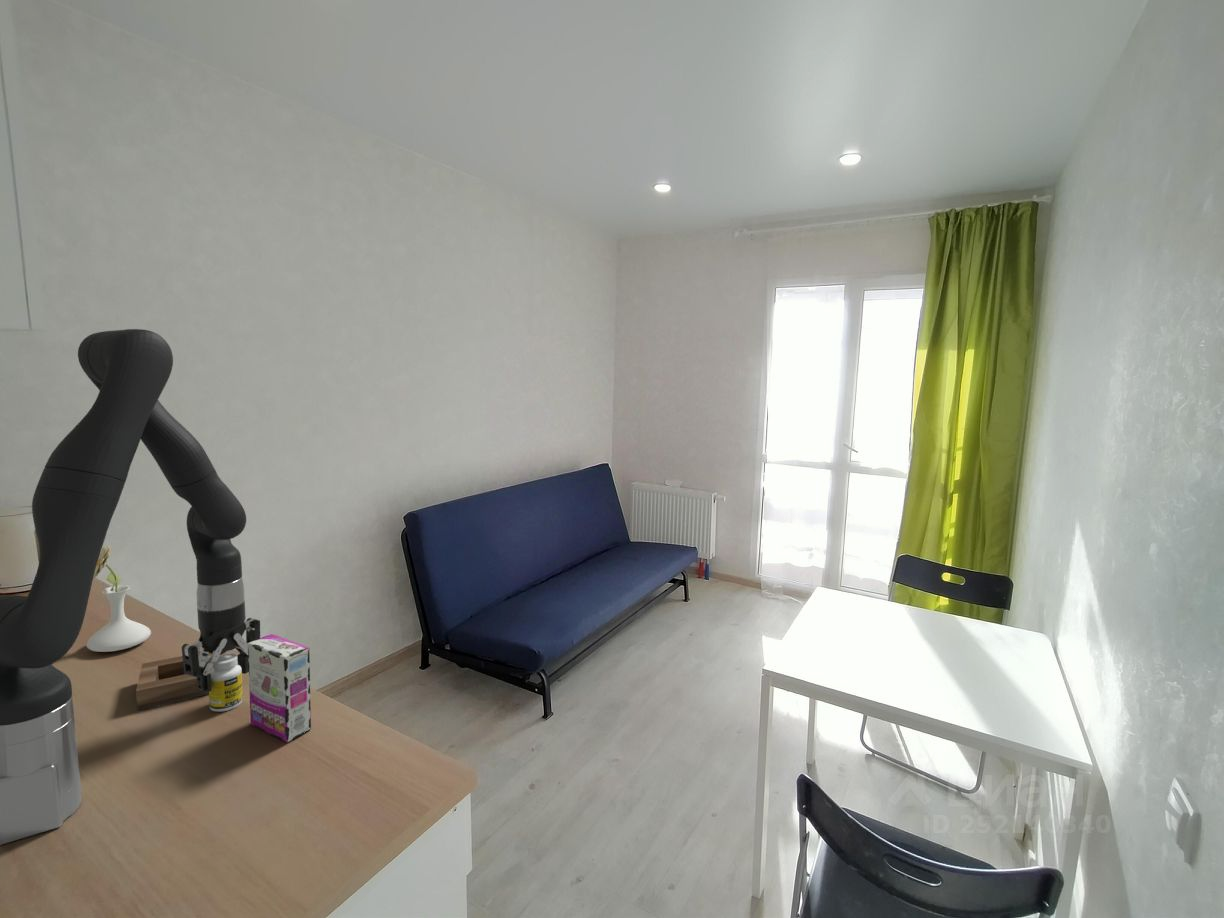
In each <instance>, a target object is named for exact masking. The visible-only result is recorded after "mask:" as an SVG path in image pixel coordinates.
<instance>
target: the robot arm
mask: <svg viewBox="0 0 1224 918" xmlns="http://www.w3.org/2000/svg"><path fill="white" fill-rule="evenodd" d="M77 348H78V349H77V358H78V364H79V366H80V367H81V369H82V371H83V372H84V373H85V375H86V376H87V377H88V378H89V380H90V381H91V382H92V384H93V385H94V386H95V387H96V388H97V389H98V390H99V392H98V395H97V397H96V399H95V401H94V402H93V405H92V406H91V408H90V409H89V410H88V412H87V413H86V414H85V416H83V418H82V419H81V420H80V421H79V422H78V423H77V424H76V425H75V427H73V428H72V429H71V430H70V431H69V432H68V433H67V435H66V436H65V437H64V438H62V440H61V441H60V442H59V443H58V445H57V446H56V447H55V448H54V450H53V451H52V452H51V454H50V456H49V457H48V459H47V461H46V463H45V465H44V468H43V470H42V472H41V475H40V477H39V479H38V482H37V484H36V487H35V491H34V493H33V496H32V502H31V503H32V504H31V512H32V519H33V524H34V530H35V534H36V538H37V541H38V542H37V543H38V549H39V557H38V558H39V559H38V560H39V561H38V566H37V570H36V573H35V577H34V579H33V582H32V584H31V586H30V587H31V588H30V590H29V592H28V594H27V595H18V594H9V595H8V594H5V595H0V846H1V845H5V844H9V843H12V842H15V841H18V840H21V839H25V838H27V837H31V836H35V835H38V834H42V833H44V832H47V831H51V830H55V829H57V828H60V827H61V826H62V825H63V822H64V821H65V820H66V819H68V818H69V817H70V816H72V815H73V814H74V813H75V812H76V811H77V810H78V808H79V807H80V806H81V804H82V800H83V799H82V788H81V787H82V785H81V776H80V765H79V756H78V755H79V753H78V744H77V743H78V742H77V736H76V735H77V733H76V722H75V721H76V720H75V711H74V710H75V708H74V698H73V688H72V681H71V678H70V677H69V676H68V675H67V674H66V673H65V672H63V671H61V670H59V669H58V668H57V667H55V666H54V665H53V664H54V663H56V662H58V661H60V660H61V659H62V658H63V657H64V656H65V655H66V654H67V653H68V652H69V651H70V650H71V648H72V647H73V646H74V644H75V642H76V641H77V639H78V638H79V635H80V633H81V629H82V626H83V624H84V619H85V616H86V612H87V607H88V602H89V598H90V595H91V590H92V584H93V581H94V579H93V577H94V572H95V568H96V565H97V562H98V558H99V555H100V553H101V551H102V548H103V547H104V546H103V545H104V542H105V539H106V536H107V532H108V529H109V528H110V524H111V520H112V518H113V516H114V514H115V511H116V509H117V507H118V504H119V501H120V498H121V496H122V492H123V491H124V488H125V484H126V483H127V482H126V481H127V478H128V476H129V472H130V470H131V469H130V468H131V466H132V462H133V460H134V458H135V454H136V452H137V450H138V448H139V444H140V441H141V442H142V444H144V446H145V447H146V448H147V450H148V451H149V453H150V455H151V456H152V457H153V459H154V461H155V462H156V464H157V465H158V467H159V469H160V470H161V473H162V474H163V475H164V477H165V479H166V480H167V482H168V484H169V485H170V487H171V489H172V490H173V491H174V493H175V494H176V495H177V496H179V497H180V498H182V500H185V501H186V502H188V504H189V505H190V506H191V507H189V509H188V512H187V516H186V529H187V534H188V537H189V541H190V544H191V548H192V551H193V553H194V556H195V559H196V578H197V579H196V580H197V583H196V584H197V586H196V587H197V588H196V607H197V611H196V612H197V627H198V629H199V632H200V635H199V637H198V640H197V641H195V642H193V643H184V644H183V645H182V646H181V653H182V654H181V656H182V657H183V666H184V673H185V674H187V675H191V676H194V677H197V688H198V690H201V691H202V692H205V693H208V692H210V691H211V673H209V672H210V670H211V668H212V666H213V664H214V663H216V662H217V660H218V657H219V656H220V655H224V654H226V652H229V651H232V650H233V651H234V650H236V652H238V653H239V654H236V655H237V664H238V665H239V666H240V667H241V669H242V674H244V675H245V674H249V661H248V643H250V642H252V641H255V640H257V639H260V638H261V621H260V620H259V619H256V618H253V617H249V618H247V619H246V602H245V601H246V599H245V596H246V595H245V585H244V579H243V571H242V570H243V569H242V568H243V567H242V556H241V552H240V550H239V549H238V548H237V547H235V545H234V544H233V543H232V539H235V538H236V537H238V536H239V535H240V534H241V533H242V532H243V531H244V530H245V527H246V525H247V515H246V511H245V508H244V507H243V505H242V504H241V502H240V500H239V499H238V498H237V497H236V496H235V494H234V493H233V491H231V489H230V488H229V487H228V486H227V485H226V484H225V482H224V481H223V480H222V479H221V477H220V476H219V474H218V473H217V471H216V469H215V466H214V465H213V463H212V462H211V459H210V458H209V456H208V454H207V452H206V451H205V448H204V447H203V446H202V445H201V443H200V442H199V441H198V440H197V439H196V437H195V436H194V435H193V434H192V433H191V432H190V431H189V430H188V429H187V428H186V427H184V426H183V424H181V422H179V421H178V420H177V419H176V418H175V417H173V415H172V414H170V413H169V411H168V410H167V409H166V408H165V406H164V405H163V404H162V403H161V401H160V400H159V398H160V397H161V395H162V392H163V391H164V389H165V387H166V386H167V385H166V384H167V383H168V381H169V378H170V377H171V374H172V369H173V366H174V356H173V351H172V349H171V346H170V344H169V342H168V341H166V339H165V338H164V337H163V336H161V335H160V334H159V333H156V332H154V331H152V330H149V329H148V330H147V329H139V328H128V329H127V328H125V329H115V330H106V331H98V332H95V333H91V334H89V335H88V336H86V337H85V338H83V340H82V341H81V342H80V344H79V346H78V347H77ZM244 633H245V639H246V640H245V639H244V638H243V635H244ZM201 648H202V649H201ZM200 652H201V653H200ZM208 653H210V654H212V655H211V657H209V656H208ZM198 654H200V655H199V657H198ZM205 663H206V664H205ZM204 665H205V666H204Z"/></svg>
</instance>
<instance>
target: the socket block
mask: <svg viewBox="0 0 1224 918" xmlns="http://www.w3.org/2000/svg"><path fill="white" fill-rule="evenodd" d="M200 653H201V651H200ZM199 655H200V654H198V657H199ZM211 655H212V654H210V653H208V656H209V657H211ZM205 664H206V663H205ZM204 666H205V665H204ZM212 669H213V667H212V668H211V670H212ZM211 670H210V671H211ZM135 695H136V696H135V697H136V707H137V711H141V710H145V709H146V710H147V709H150V708H156V707H160V706H163V705H168V704H171V703H176V702H180V701H185V700H189V699H193V698H198V697H203V696H208V695H209V692H208V693H205V692H202V691H201V690H198V688H197V677H194V676H191V675H187V674H185V673H184V666H183V657H182V655H178V656H175V657H170V658H165V659H158V660H155V661H154V660H153V661H149V662H145V663H144V662H143V663H142V665H141V667H140V672H139V676H138V680H137V685H136V689H135Z"/></svg>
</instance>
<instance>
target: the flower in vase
mask: <svg viewBox="0 0 1224 918" xmlns="http://www.w3.org/2000/svg"><path fill="white" fill-rule="evenodd" d="M110 555H111V547H110V545H108V546H107V547H106V545H104V546H102V549H101V552H100V555H99V558H98V562H97V565H96V568H95V572H94V577H93V580H95V578H96V577H98V576H99V574H100V573H101V572H102V570H103V569H104V568H105V567H107V569H108V570H109V571H110V573H108V575H107V577H106V581H107V582H109V584H112V585H111V586H109V587H105V588H103V589H102V590H101V591H100V592H101V594H103V595H104V596H105V597H106V598H107V600H108V603H109V605H110V620H109V621H108V622H107V623H106V624H105V625H104V626H103V627H101V628H100V629H98V631H96V632H95V633H93V635H91V637H90V638H89V639H88V640H87V642H86V648H87V649H88V650H90V651H92V652H99V653H101V652H102V653H108V652H117V651H121V650H122V651H123V650H126V649H130V648H133V647H134V646H137V645H139V644H142V643H144V642H145V641H147V639H149V638H150V636H151V634H152V631H151V629H150V628H149V627H148V626H146V625H144V624H143V623H140V622H137V621H135V620H131V619H129V618H127V617H126V614H125V605H124V603H125V598H126V597H125V596H126V594H127V592H128V591H129V590H130V589H131V586H130V585H128V584H127V585H126V584H125V585H124V584H120V583H121V582H122V578H121V577H120V576H119V575H117V574H116V573H115V572H114V570H113V569H112V568H111V566H109V564H108V563H107V562H108V561H109V559H110ZM119 584H120V585H119Z"/></svg>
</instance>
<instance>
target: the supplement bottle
mask: <svg viewBox="0 0 1224 918" xmlns="http://www.w3.org/2000/svg"><path fill="white" fill-rule="evenodd" d="M237 655H238V654H235V653H224V654H222V655H219V657H218V660H217V662H216V663H214V664H213V666H212V667H213V669H212V670H211V671H210V672H209V673H211V691H210V692H209V694H208V702H209V709H210V710H211V711H213V712H221V713H222V712H226V711H227V712H228V711H231V710H233V709H235V708H236V707H237V708H238V706H240V705H241V704H242V702H243V675H242V674H243V673H242V669H241V667H240V666H239V665H238V656H237Z"/></svg>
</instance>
